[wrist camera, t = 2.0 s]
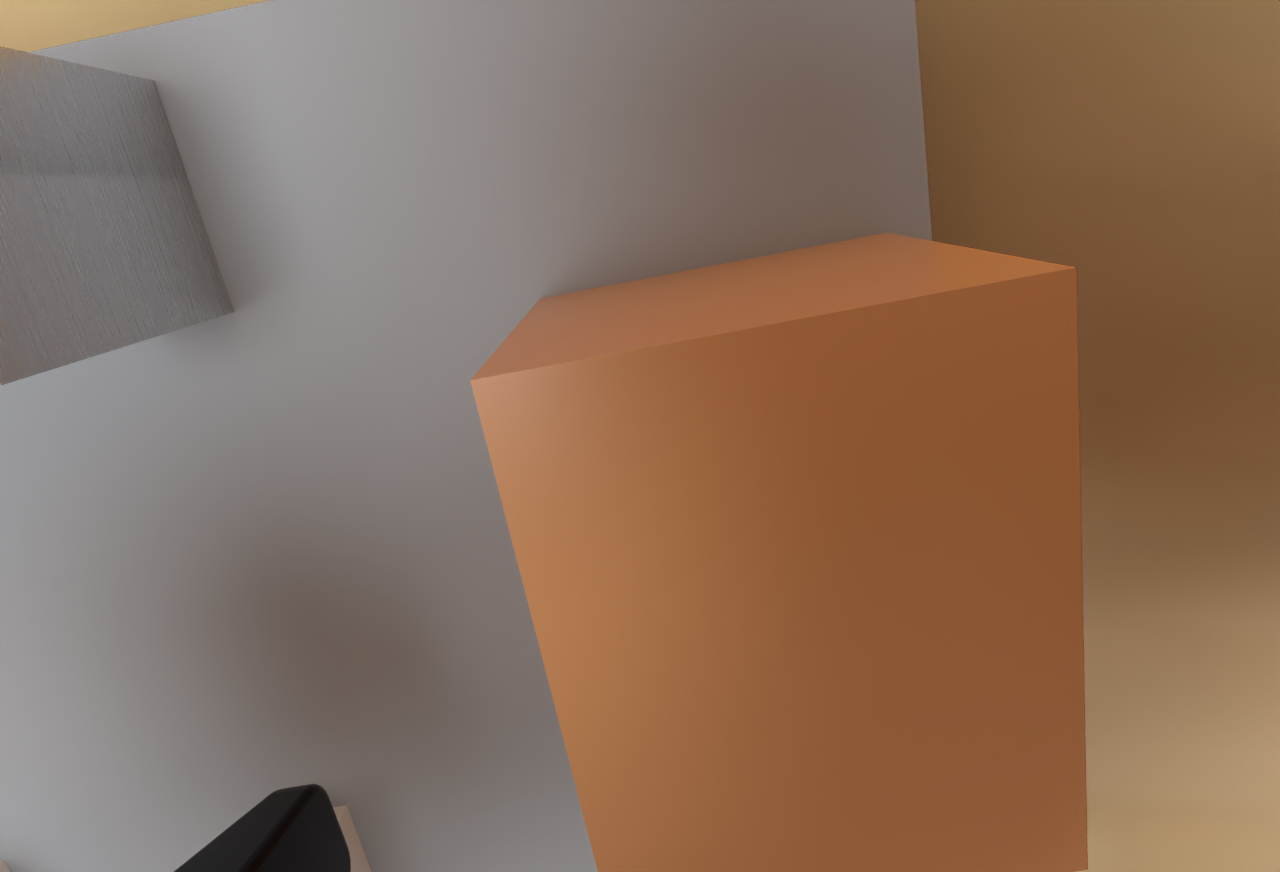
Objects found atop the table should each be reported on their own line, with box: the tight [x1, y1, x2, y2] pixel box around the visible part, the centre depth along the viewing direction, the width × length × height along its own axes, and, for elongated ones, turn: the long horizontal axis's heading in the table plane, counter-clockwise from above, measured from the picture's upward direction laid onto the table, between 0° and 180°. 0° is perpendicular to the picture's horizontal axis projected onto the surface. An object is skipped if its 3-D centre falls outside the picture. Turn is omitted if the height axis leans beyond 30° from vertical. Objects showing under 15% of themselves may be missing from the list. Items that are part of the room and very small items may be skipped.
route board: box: [0, 0, 932, 872], centre depth 12 cm, size 20×18×1 cm
